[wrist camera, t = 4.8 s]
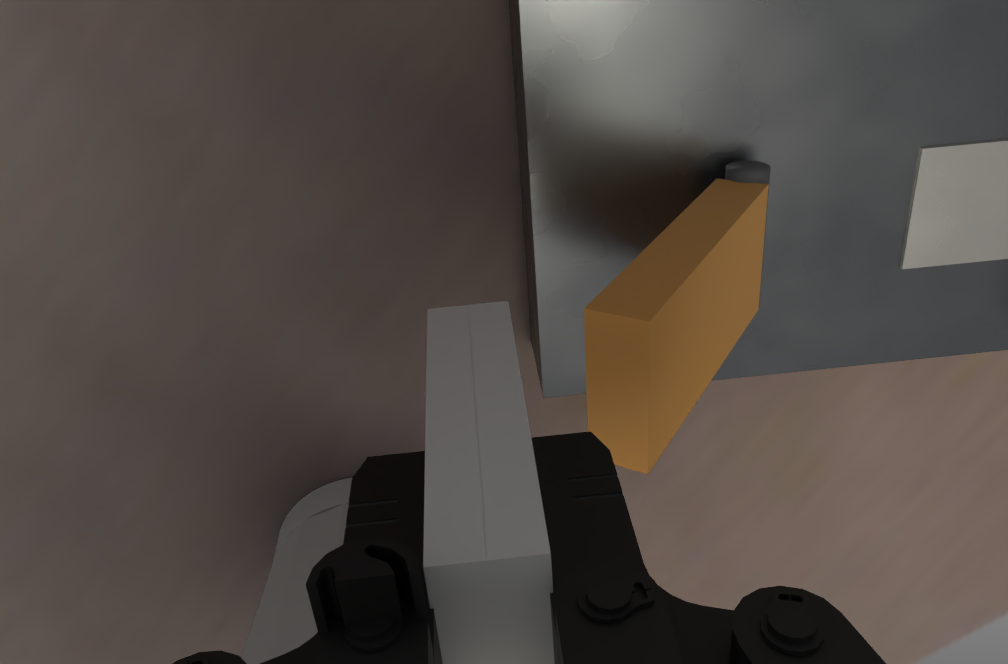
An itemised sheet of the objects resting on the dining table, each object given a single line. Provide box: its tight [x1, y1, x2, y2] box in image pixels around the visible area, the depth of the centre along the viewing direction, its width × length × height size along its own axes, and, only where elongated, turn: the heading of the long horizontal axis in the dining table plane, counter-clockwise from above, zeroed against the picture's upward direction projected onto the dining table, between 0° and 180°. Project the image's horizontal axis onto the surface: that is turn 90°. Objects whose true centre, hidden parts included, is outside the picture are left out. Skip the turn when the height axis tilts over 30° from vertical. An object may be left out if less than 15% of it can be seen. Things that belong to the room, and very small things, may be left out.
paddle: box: [584, 161, 771, 474], centre depth 18 cm, size 1×4×8 cm
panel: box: [509, 0, 1008, 398], centre depth 20 cm, size 16×15×5 cm
